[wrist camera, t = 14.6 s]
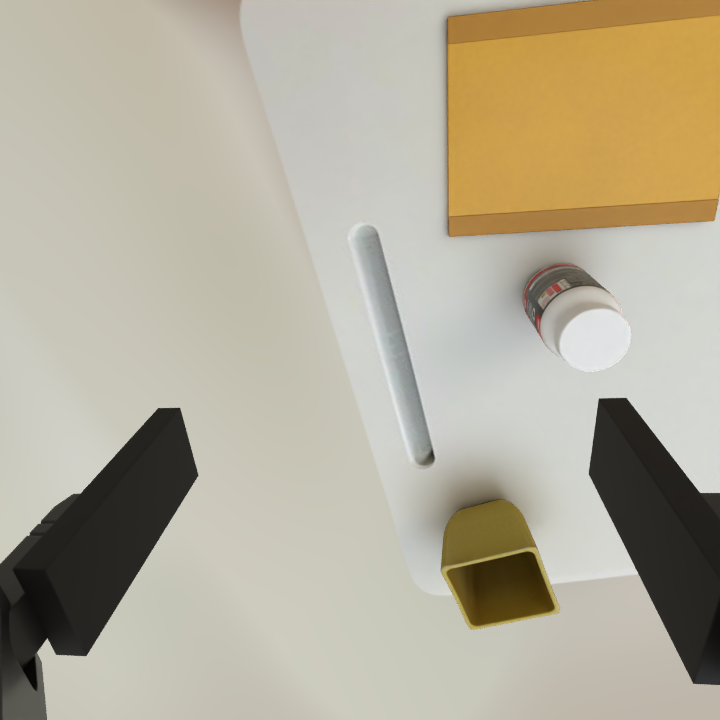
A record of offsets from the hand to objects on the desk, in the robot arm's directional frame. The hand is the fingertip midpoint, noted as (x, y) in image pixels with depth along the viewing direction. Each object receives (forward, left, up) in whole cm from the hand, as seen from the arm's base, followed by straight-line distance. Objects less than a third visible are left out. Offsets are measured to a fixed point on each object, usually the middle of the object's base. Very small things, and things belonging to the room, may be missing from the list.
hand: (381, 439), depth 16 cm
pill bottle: (+5, +13, -29) cm, 32 cm away
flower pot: (+30, +8, -29) cm, 42 cm away
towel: (-8, +14, -29) cm, 33 cm away
